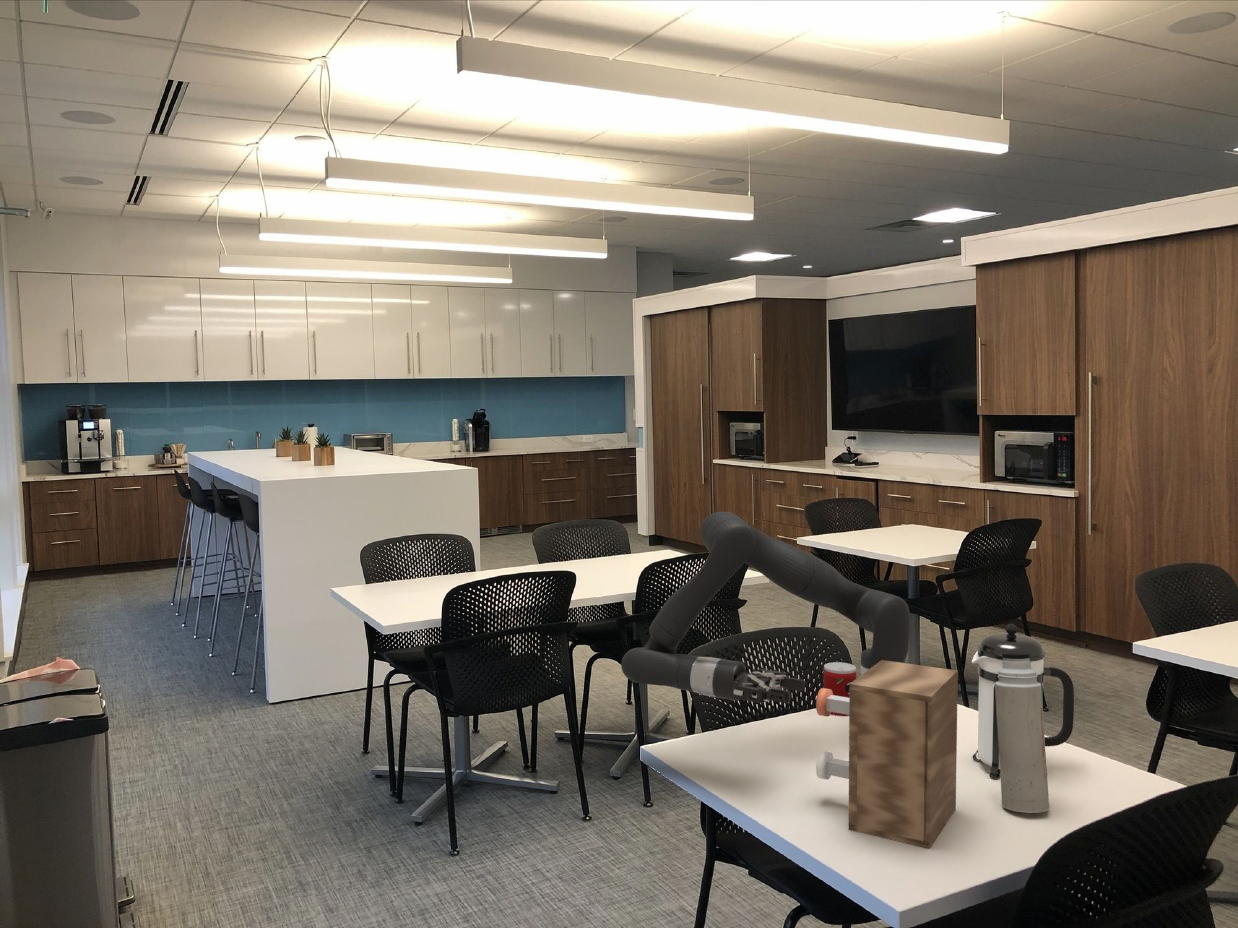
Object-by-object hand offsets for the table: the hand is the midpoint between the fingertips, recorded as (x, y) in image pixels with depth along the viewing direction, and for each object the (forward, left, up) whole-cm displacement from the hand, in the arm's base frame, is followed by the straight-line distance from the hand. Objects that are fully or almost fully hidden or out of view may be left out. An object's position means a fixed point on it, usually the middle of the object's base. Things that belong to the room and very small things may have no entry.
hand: (797, 691), depth 183 cm
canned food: (-28, +46, -20) cm, 57 cm away
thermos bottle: (+30, +28, -20) cm, 46 cm away
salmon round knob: (+11, +4, -4) cm, 12 cm away
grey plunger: (+11, +4, -16) cm, 19 cm away
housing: (+19, +7, -20) cm, 29 cm away
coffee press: (+18, +45, -20) cm, 52 cm away
